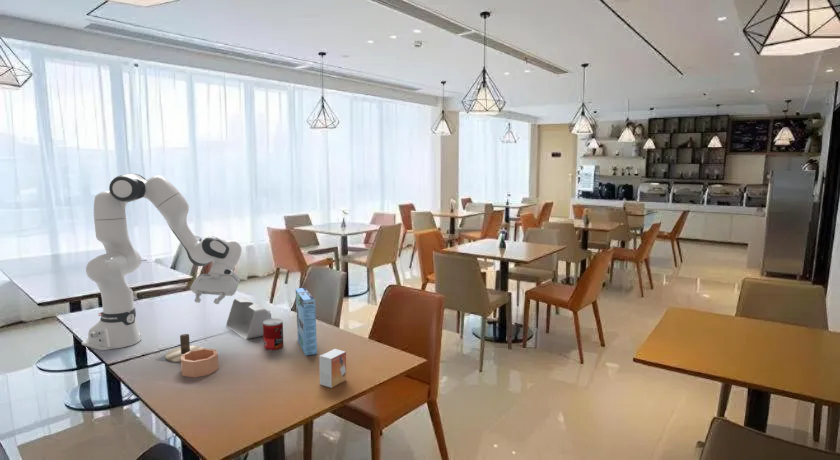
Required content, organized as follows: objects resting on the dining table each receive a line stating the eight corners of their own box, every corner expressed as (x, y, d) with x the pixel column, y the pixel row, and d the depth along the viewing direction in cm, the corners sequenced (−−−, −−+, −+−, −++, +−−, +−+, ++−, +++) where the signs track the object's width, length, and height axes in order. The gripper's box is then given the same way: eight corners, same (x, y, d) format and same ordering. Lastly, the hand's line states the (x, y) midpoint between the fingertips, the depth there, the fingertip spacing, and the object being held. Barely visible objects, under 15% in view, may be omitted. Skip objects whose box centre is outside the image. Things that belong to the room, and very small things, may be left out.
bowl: (174, 375, 174) (173, 359, 173) (197, 362, 185) (197, 347, 184) (202, 379, 171) (201, 363, 170) (224, 365, 182) (224, 350, 181)
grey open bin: (281, 332, 219) (280, 305, 217) (246, 340, 208) (244, 312, 206) (258, 319, 237) (257, 294, 236) (225, 326, 227) (224, 300, 225)
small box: (331, 388, 164) (330, 359, 163) (319, 384, 167) (318, 355, 166) (347, 379, 171) (346, 351, 170) (335, 376, 174) (334, 348, 173)
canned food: (278, 351, 197) (277, 325, 195) (260, 349, 198) (259, 323, 197) (286, 344, 204) (286, 319, 203) (269, 342, 206) (268, 317, 204)
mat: (155, 360, 186) (155, 359, 186) (183, 346, 201) (183, 345, 200) (187, 365, 182) (187, 364, 182) (214, 350, 197) (214, 349, 197)
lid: (157, 359, 186) (155, 339, 185) (183, 346, 200) (182, 327, 199) (187, 363, 183) (186, 343, 182) (212, 350, 196) (211, 331, 195)
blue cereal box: (317, 354, 194) (315, 298, 191) (304, 356, 192) (302, 300, 189) (308, 338, 211) (307, 287, 208) (296, 339, 209) (295, 288, 206)
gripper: (195, 269, 209) (181, 297, 201) (236, 271, 204) (223, 300, 196) (203, 277, 214) (189, 304, 206) (243, 279, 209) (230, 307, 201)
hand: (206, 302), depth 201 cm, fingers open, 8 cm apart
